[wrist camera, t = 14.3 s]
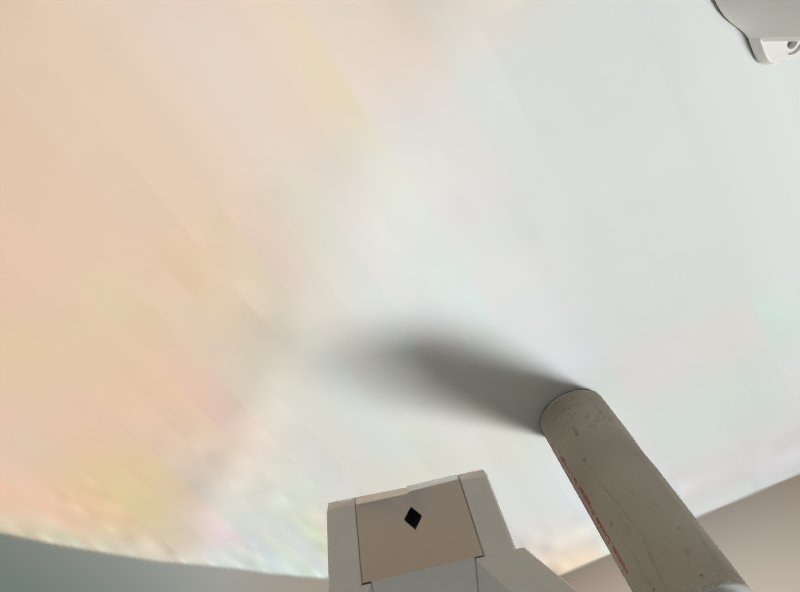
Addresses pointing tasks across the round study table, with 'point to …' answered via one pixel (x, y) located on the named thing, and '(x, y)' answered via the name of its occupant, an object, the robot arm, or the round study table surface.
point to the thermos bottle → (633, 502)
